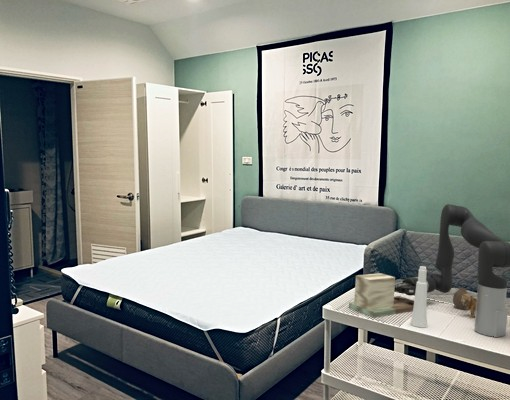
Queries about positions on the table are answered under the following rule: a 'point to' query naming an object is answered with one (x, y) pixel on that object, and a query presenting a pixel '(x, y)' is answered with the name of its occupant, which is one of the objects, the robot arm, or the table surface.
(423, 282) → the cosmetic bottle
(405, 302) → the trap box
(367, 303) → the maple block
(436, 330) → the table surface
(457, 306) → the vase
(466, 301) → the lion figurine
